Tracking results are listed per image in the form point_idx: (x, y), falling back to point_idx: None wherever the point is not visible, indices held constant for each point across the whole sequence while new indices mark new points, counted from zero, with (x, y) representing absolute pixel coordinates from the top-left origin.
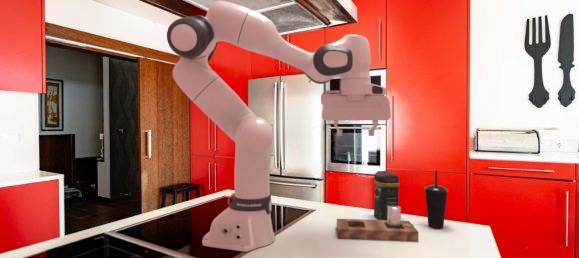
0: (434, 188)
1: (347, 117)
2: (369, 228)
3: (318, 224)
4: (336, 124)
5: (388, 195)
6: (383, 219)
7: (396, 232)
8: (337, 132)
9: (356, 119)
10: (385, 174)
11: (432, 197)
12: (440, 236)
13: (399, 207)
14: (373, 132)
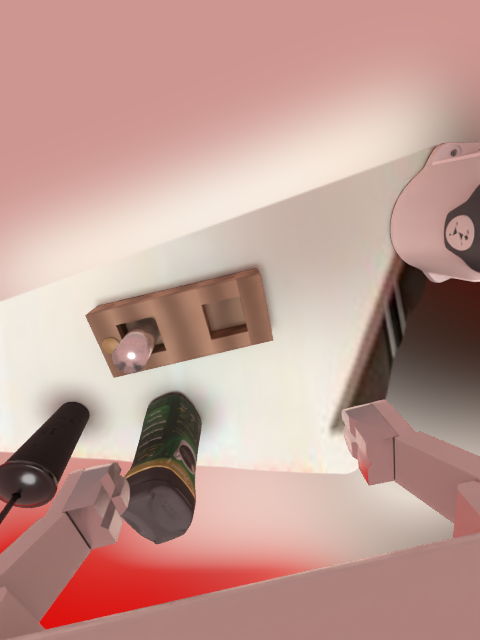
0: (21, 474)
1: (389, 608)
2: (192, 300)
3: (311, 348)
4: (476, 475)
5: (156, 444)
6: (176, 398)
7: (133, 303)
8: (398, 413)
9: (218, 601)
10: (152, 497)
11: (40, 450)
12: (60, 365)
13: (115, 358)
14: (65, 489)
